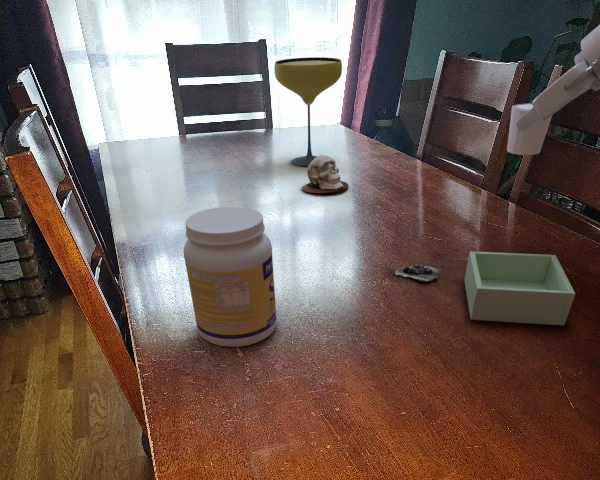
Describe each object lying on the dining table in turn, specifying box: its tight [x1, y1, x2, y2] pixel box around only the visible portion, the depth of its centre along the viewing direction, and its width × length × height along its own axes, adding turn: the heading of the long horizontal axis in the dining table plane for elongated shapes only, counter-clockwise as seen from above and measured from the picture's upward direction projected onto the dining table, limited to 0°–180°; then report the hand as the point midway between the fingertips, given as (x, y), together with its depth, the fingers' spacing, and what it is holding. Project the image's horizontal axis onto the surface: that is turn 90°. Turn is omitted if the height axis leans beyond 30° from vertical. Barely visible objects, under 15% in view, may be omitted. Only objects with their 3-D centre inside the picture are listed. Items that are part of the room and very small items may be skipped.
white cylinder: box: [506, 102, 553, 156], centre depth 89 cm, size 7×7×7 cm
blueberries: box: [394, 263, 441, 283], centre depth 90 cm, size 7×8×2 cm
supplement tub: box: [183, 205, 278, 348], centre depth 73 cm, size 12×12×17 cm
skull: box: [301, 154, 349, 194], centre depth 130 cm, size 12×10×10 cm
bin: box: [464, 251, 576, 326], centre depth 81 cm, size 14×14×5 cm
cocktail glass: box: [273, 56, 343, 168], centre depth 143 cm, size 18×18×25 cm
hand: (525, 122), depth 88 cm, fingers closed on white cylinder, 7 cm apart
